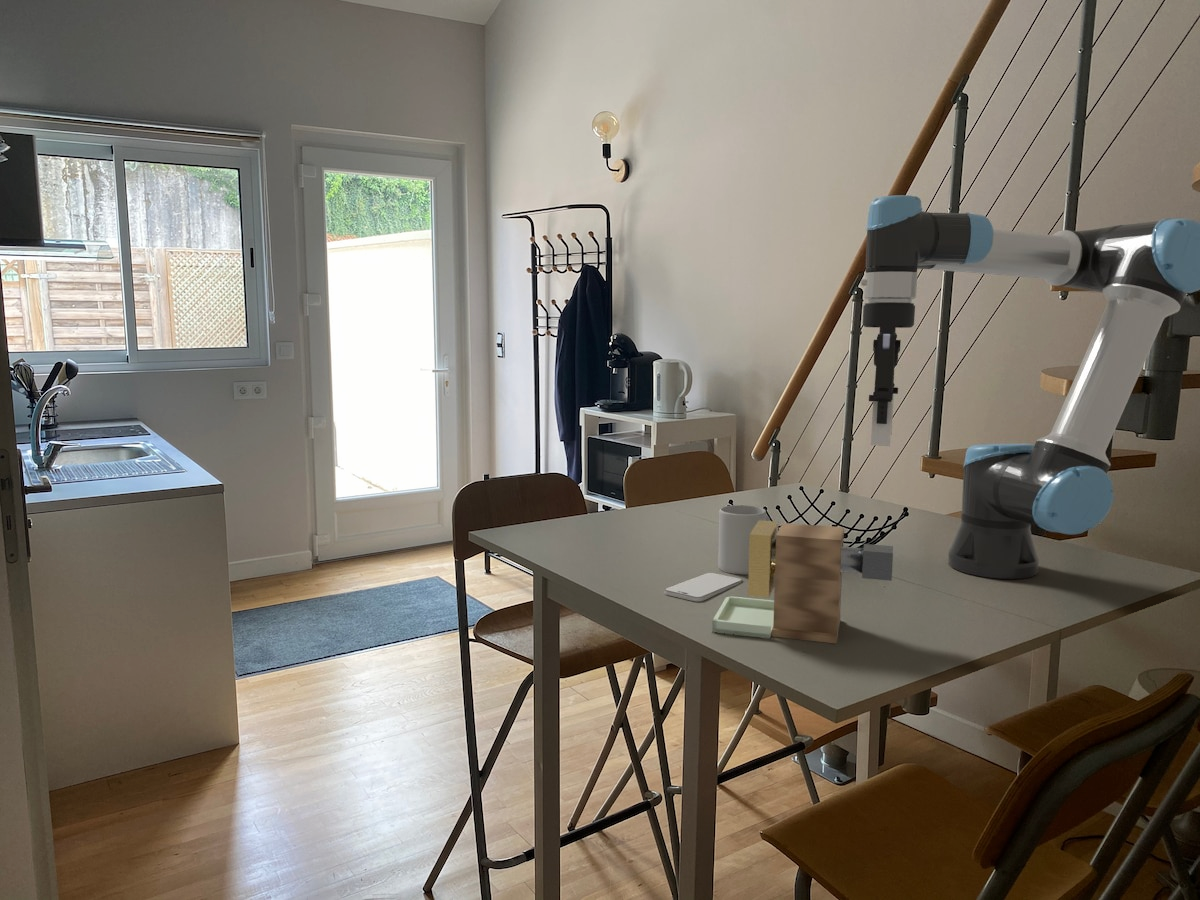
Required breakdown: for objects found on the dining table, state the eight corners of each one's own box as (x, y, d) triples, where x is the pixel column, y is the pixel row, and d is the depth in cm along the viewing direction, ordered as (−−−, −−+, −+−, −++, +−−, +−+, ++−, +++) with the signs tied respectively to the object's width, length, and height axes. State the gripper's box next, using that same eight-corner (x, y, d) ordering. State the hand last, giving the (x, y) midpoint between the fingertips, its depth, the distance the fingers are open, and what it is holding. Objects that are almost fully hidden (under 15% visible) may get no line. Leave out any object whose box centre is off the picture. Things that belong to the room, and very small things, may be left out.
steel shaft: (891, 572, 128) (892, 546, 127) (891, 580, 124) (892, 553, 124) (753, 561, 134) (753, 535, 133) (749, 568, 130) (749, 541, 130)
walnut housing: (840, 620, 134) (844, 525, 132) (836, 643, 125) (840, 541, 123) (780, 614, 137) (783, 521, 135) (772, 636, 128) (775, 536, 125)
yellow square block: (776, 579, 136) (778, 521, 135) (768, 597, 127) (770, 535, 126) (757, 578, 137) (758, 520, 136) (748, 595, 128) (749, 534, 127)
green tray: (779, 612, 138) (780, 601, 138) (769, 638, 127) (770, 626, 127) (726, 606, 141) (726, 595, 140) (712, 632, 129) (712, 620, 129)
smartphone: (744, 579, 154) (699, 598, 143) (744, 585, 154) (699, 604, 143) (708, 571, 159) (661, 589, 147) (708, 578, 159) (661, 596, 147)
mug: (744, 577, 156) (745, 517, 155) (708, 567, 163) (709, 509, 161) (786, 565, 164) (787, 507, 162) (750, 555, 170) (751, 500, 169)
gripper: (867, 302, 147) (860, 428, 150) (859, 299, 124) (852, 449, 127) (914, 302, 145) (907, 431, 148) (916, 299, 121) (907, 452, 125)
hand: (881, 439), depth 138 cm, fingers open, 13 cm apart
